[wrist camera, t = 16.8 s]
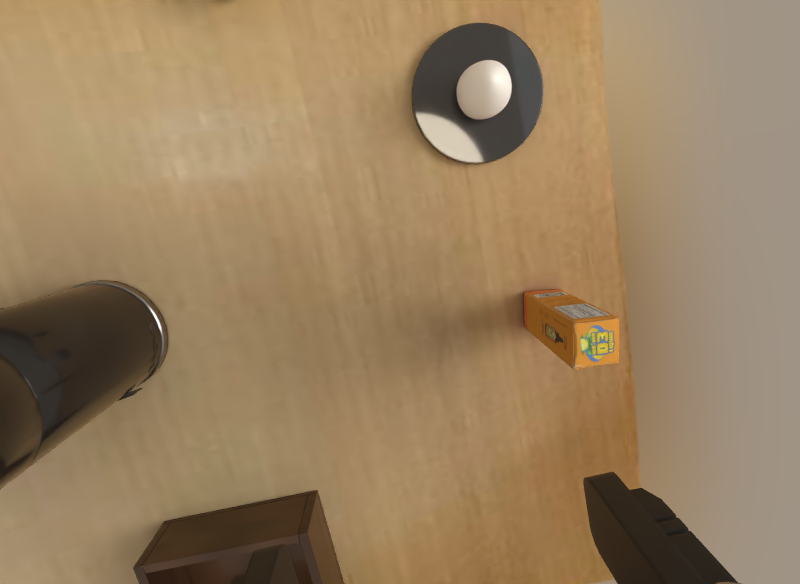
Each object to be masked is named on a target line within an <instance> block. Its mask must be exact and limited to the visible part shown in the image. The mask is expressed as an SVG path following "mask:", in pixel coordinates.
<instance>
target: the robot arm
mask: <svg viewBox="0 0 800 584" xmlns="http://www.w3.org/2000/svg"><path fill="white" fill-rule="evenodd" d="M167 347H168V335H167V329H166V325H165V322H164V320H163V318H162V316H161V314H160V312H159V310H158V309H157V308H156V306H155V305H154V304H153V303H152V302H151V301H150V300H149V299H148V298H147V297H146V296H145V295H144V294H142V293H141V292H139V291H138V290H136V289H134V288H133V287H131V286H128V285H126V284H123V283H119V282H115V281H106V280H102V281H92V282H88V283H85V284H81V285H78V286H76V287H73V288H71V289H69V290H66V291H62V292H59V293H55V294H52V295H48V296H45V297H42V298H38V299H35V300H31V301H28V302H25V303H21V304H18V305H15V306H11V307H8V308H2V309H0V489H1V488H3V487H4V486H5V485H6V484H8V483H9V482H10V481H12V480H13V479H14V478H16V477H17V476H18V475H20V474H21V473H22V472H24V471H25V470H26V469H27V468H29V467H30V466H31V465H33V464H34V463H35V462H37V461H38V460H39V459H41V458H42V457H43V456H44V455H46V454H47V453H48V452H50V451H51V450H52V449H54V448H55V447H56V446H58V445H59V444H60V443H62V442H63V441H64V440H66V439H67V438H68V437H70V436H71V435H72V434H74V433H75V432H76V431H78V430H79V429H80V428H82V427H83V426H84V425H86V424H87V423H88V422H90V421H91V420H92V419H94V418H95V417H96V416H98V415H99V414H100V413H102V412H103V411H104V410H105V409H107V408H108V407H109V406H111V405H112V404H113V403H115V402H116V401H118V400H121V399H124V398H127V397H129V396H132V395H134V394H135V393H136V392H138V391H139V390H140V389H142V388H143V387H142V388H140V389H137V390H134V391H131V390H132V389H133V388H135V387H136V386H138V385H140V384H142V383H143V382H145V381H146V380H147V379H148V378H150V377H151V376H152V375H153V374H154V373H155V372H156V371H157V370H158V369H159V367H160V366H161V364H162V363H163V361H164V358H165V356H166V352H167ZM129 391H131V392H129ZM128 392H129V393H128ZM583 482H584V491H585V497H586V503H587V510H588V516H589V523H590V529H591V533H592V536H593V539H594V542H595V545H596V547H597V549H598V551H599V553H600V555H601V557H602V558H603V560H604V562H605V563H606V565H607V567H608V568H609V570H610V572H611V573H612V575H613V577H614V578H615V580H616V582H617V583H618V584H740V583H738V582H737V581H736V580H735V579H734V578H733V577H732V576H731V575H730V574H729V573H728V571H727V570H726V569H725V568H724V567H723V566H722V565H721V564H720V563H719V562H718V561H717V559H716V558H715V557H714V556H713V555H712V554H711V553H710V552H709V551H708V550H707V548H706V547H705V546H704V545H703V544H702V543H701V542H700V541H699V540H698V539H697V538H696V537H695V535H694V534H693V533H692V532H691V531H688V528H687V527H686V526H685V524H684V523H683V522H682V521H681V520H680V519H679V518H677V517H676V515H675V514H674V513H673V511H672V510H671V509H670V508H669V507H668V506H667V505H666V504H665V503H664V502H663V501H662V499H660V498H658V497H656V496H654V495H653V494H651V493H649V492H648V491H646V490H644V489H642V488H638V489H633V490H629V489H628V488H627V487H626V486H625V484H624V483H623V482H622V481H621V480H620V478H619V477H618V476H617V475H616V474H615V473H614V472H609V473H604V474H600V475H595V476H591V477H586V478H584V481H583ZM230 584H299V582H298V579H297V576H296V573H295V570H294V567H293V564H292V561H291V557H290V554H289V551H288V548H287V546H286V545H285V544H278V545H273V546H269V547H264V548H260V549H256V550H255V551H254V552H253V554H252V557H251V559H250V562H249V565H248V568H247V570H246V573H245V574H242V575H238V576H235V578H234V579H233V580H232V582H231V583H230Z"/></svg>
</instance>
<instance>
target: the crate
mask: <svg viewBox="0 0 800 584" xmlns="http://www.w3.org/2000/svg"><path fill="white" fill-rule="evenodd" d="M278 544H285V545H286V546H287V548H288V551H289V554H290V557H291V561H292V564H293V567H294V570H295V573H296V576H297V579H298V582H299V584H344V582H343V578H342V575H341V571H340V568H339V564H338V561H337V557H336V554H335V550H334V547H333V543H332V540H331V536H330V533H329V529H328V526H327V522H326V519H325V515H324V511H323V508H322V504H321V501H320V497H319V494H318V491H312V492H307V493H302V494H297V495H292V496H287V497H283V498H278V499H273V500H268V501H263V502H258V503H253V504H248V505H243V506H238V507H233V508H228V509H223V510H218V511H213V512H209V513H204V514H199V515H194V516H189V517H184V518H179V519H174V520H169V521H165V522H164V523H163V525H162V526H161V528H160V529H159V530H158V532H157V533H156V535H155V536H154V538H153V539H152V541H151V542H150V544H149V545H148V547H147V548H146V549H145V551H144V552H143V554H142V555H141V557H140V558H139V560H138V561H137V563H136V564H135V565H134V567H133V569H134V572H135V574H136V577H137V579H138V582H139V584H230V583H231V582H232V580H233V579H234V578H235V576H238V575H242V574H245V573H246V570H247V568H248V565H249V562H250V559H251V557H252V554H253V552H254V551H255V550H256V549H260V548H264V547H269V546H273V545H278Z"/></svg>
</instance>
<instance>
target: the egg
mask: <svg viewBox="0 0 800 584" xmlns="http://www.w3.org/2000/svg"><path fill="white" fill-rule="evenodd" d="M511 91H512V83H511V78H510V75H509V72H508V70H507V69H506V68H505V66H504V65H502V64H501V63H499V62H497V61H494V60H484V61H480V62H477V63H475V64H473V65H471V66H470V67H468V68H467V69H466V70H465V71H464V72H463V74H462V75H461V77H460V79H459V81H458V84H457V101H458V104H459V106H460V108H461V110H462V111H463V113H464V114H465V115H467V116H468V117H470V118H472V119H487V118H490V117H493V116H495V115H496V114H498V113H499V112H500V111H502V110H503V109H504V107H505V106H506V105H507V103H508V101H509V99H510V96H511Z"/></svg>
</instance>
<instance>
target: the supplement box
mask: <svg viewBox="0 0 800 584" xmlns="http://www.w3.org/2000/svg"><path fill="white" fill-rule="evenodd" d="M524 316H525V328H526V329H527V330H528V331H529V332H530V333H532V334H533V335H534V336H535V337H536V338H538V339H539V340H540V341H541V342H542V343H543V344H544V345H546V346H547V347H548V348H549V349H550V350H551V351H553V352H554V353H555V354H556V355H557V356H558V357H560V358H561V359H562V360H563V361H564V362H566V363H567V364H568V365H569V366H570V367H571V368H573V369H574V370H576V369H582V368H587V367H591V366H597V365H603V364H611V363H617V362H619V318H618V317H617V316H615V315H613V314H611V313H609V312H606V311H604V310H602V309H600V308H598V307H596V306H594V305H592V304H590V303H587V302H585V301H584V300H582V299H579V298H577V297H575V296H573V295H571V294H568V293H566V292H564V291H562V290H560V289H554V290H541V291H530V292H525V293H524Z"/></svg>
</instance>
